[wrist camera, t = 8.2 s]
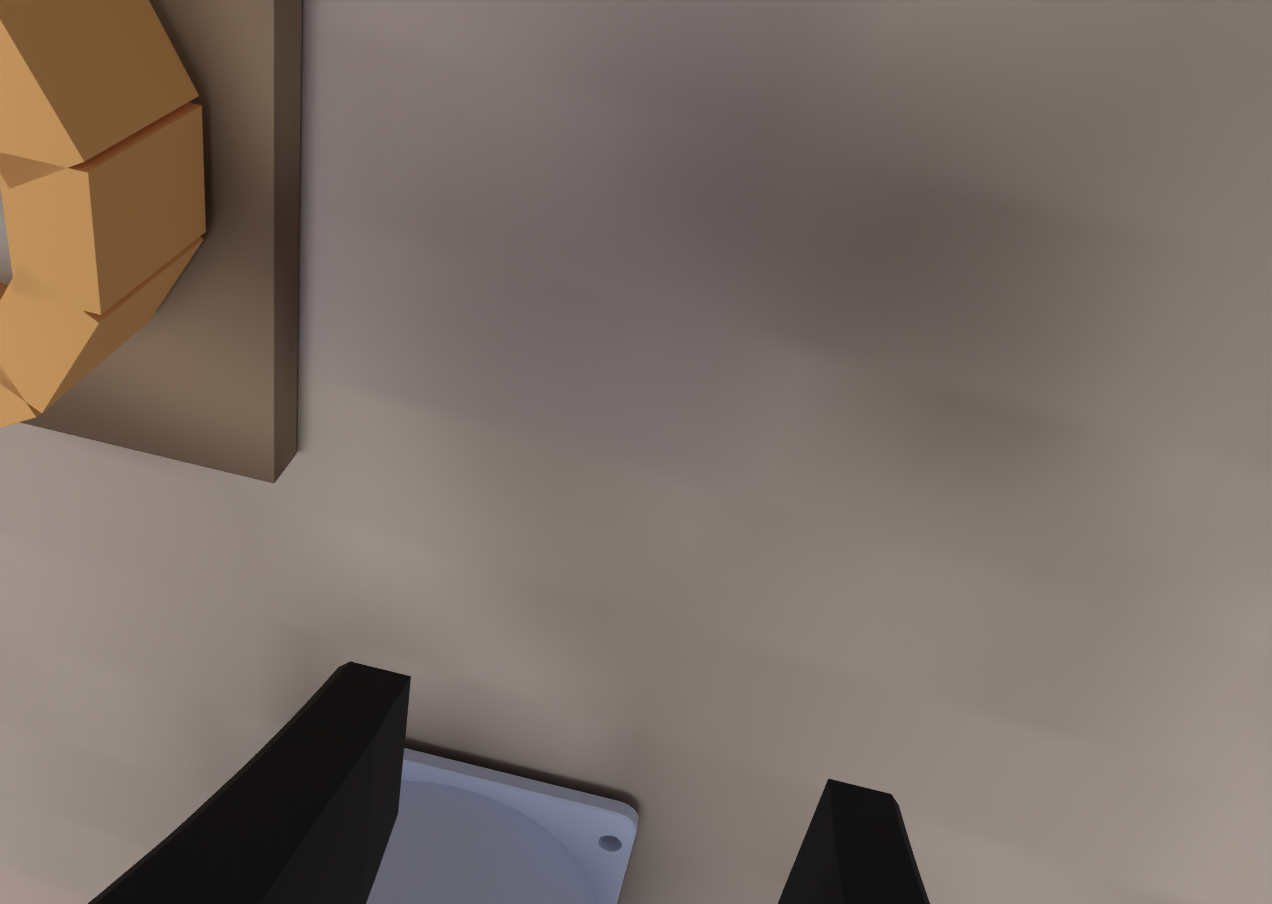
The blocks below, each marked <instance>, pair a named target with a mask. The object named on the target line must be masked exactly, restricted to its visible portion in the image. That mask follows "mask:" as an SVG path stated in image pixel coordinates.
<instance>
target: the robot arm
mask: <svg viewBox="0 0 1272 904" xmlns="http://www.w3.org/2000/svg"><path fill="white" fill-rule="evenodd" d="M410 680H411V676H407V675H403V674H399V673H395V672H391V671H387V670H383V669H378V668H374V667H370V666H366V665H362V664H358V663H354V662H348V663H346V664H344V665H342V666H340V667H338V668H337V670H336V671H335V672H334V673H333V674H332V675H331V676H330V678H329V679H328V680H327V681H326V682H325V683H324V684H323V685H322V687H321V688H320V689H319V690H318V691H317V692H316V693H315V694H314V695H313V696H312V697H311V698H310V700H309V701H308V702H307V703H306V704H305V705H304V706H303V707H302V708H301V709H300V710H299V711H298V712H297V713H296V714H295V716H294V717H293V718H292V719H291V720H290V721H289V722H288V723H287V724H286V725H285V726H284V727H283V728H282V729H281V730H280V731H279V732H278V733H277V734H276V735H275V736H274V737H273V738H272V739H271V740H270V741H269V742H268V743H267V744H266V745H265V746H264V747H263V748H262V749H261V750H260V751H259V752H258V753H257V754H256V755H255V756H254V757H253V758H252V759H251V760H250V761H249V762H248V763H247V764H246V765H245V766H244V767H243V768H242V769H241V770H239V771H238V772H237V773H236V774H235V775H234V776H233V777H232V778H231V779H230V780H229V781H228V782H227V783H225V784H224V785H223V786H222V787H221V788H220V789H219V790H218V791H217V792H216V793H215V794H214V795H213V796H212V797H210V798H209V799H208V800H207V801H206V802H205V803H204V804H203V805H202V806H201V807H200V808H199V809H198V810H196V811H195V812H194V813H193V814H192V815H191V816H190V817H189V818H188V819H187V820H186V821H185V822H183V823H182V824H181V825H180V826H179V827H178V828H177V829H176V830H175V831H173V832H172V833H171V834H170V835H169V836H168V837H167V838H165V839H164V840H163V841H162V842H161V843H159V844H158V845H157V846H156V847H155V848H154V849H152V850H151V851H150V852H149V853H148V854H146V855H145V856H144V857H143V858H142V859H140V860H139V861H138V862H137V863H136V864H135V865H133V866H132V867H131V868H130V869H129V870H127V871H126V872H125V873H124V874H123V875H122V876H120V877H119V878H118V879H117V880H116V881H114V882H113V883H112V884H111V885H110V886H108V887H107V888H106V889H105V890H104V891H103V892H101V893H100V894H99V895H98V896H97V897H95V898H94V899H93V900H92V901H90V902H89V903H88V904H617V901H618V898H619V894H620V891H621V887H622V883H623V880H624V876H625V872H626V869H627V865H628V862H629V858H630V854H631V851H632V847H633V843H634V840H635V836H636V832H637V827H638V822H639V821H638V814H637V813H636V811H635V810H634V809H633V808H632V807H631V806H629V805H628V804H626V803H623V802H621V801H617V800H613V799H609V798H605V797H601V796H597V795H593V794H589V793H585V792H581V791H577V790H573V789H569V788H565V787H561V786H556V785H552V784H548V783H544V782H540V781H536V780H532V779H528V778H524V777H520V776H516V775H512V774H508V773H504V772H500V771H496V770H492V769H488V768H484V767H480V766H476V765H472V764H468V763H464V762H459V761H455V760H451V759H447V758H443V757H439V756H435V755H431V754H427V753H423V752H419V751H415V750H411V749H407V748H404V745H405V734H406V723H407V713H408V702H409V691H410ZM611 836H614V837H611ZM778 904H930V903H929V900H928V897H927V894H926V891H925V888H924V885H923V882H922V879H921V876H920V873H919V870H918V867H917V864H916V861H915V858H914V855H913V852H912V848H911V845H910V842H909V839H908V835H907V832H906V829H905V825H904V822H903V819H902V815H901V812H900V808H899V805H898V803H897V802H896V800H895V799H894V797H893V796H892V794H889V793H885V792H881V791H876V790H872V789H868V788H864V787H860V786H856V785H852V784H848V783H844V782H840V781H836V780H832V779H828V781H827V783H826V786H825V788H824V791H823V793H822V796H821V798H820V801H819V803H818V806H817V808H816V811H815V813H814V815H813V818H812V820H811V823H810V825H809V828H808V830H807V833H806V835H805V838H804V840H803V843H802V845H801V848H800V850H799V853H798V855H797V857H796V860H795V862H794V865H793V867H792V870H791V872H790V875H789V877H788V880H787V882H786V885H785V887H784V890H783V892H782V895H781V897H780V899H779V902H778Z"/></svg>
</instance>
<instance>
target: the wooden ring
mask: <svg viewBox="0 0 1272 904" xmlns="http://www.w3.org/2000/svg"><path fill="white" fill-rule="evenodd" d="M198 96H199V95H198V93H197V91H196V89H195V87H194V85H193V83H192V81H191V80H190V78H189V76H188V74H187V72H186V70H185V68H184V66H183V64H182V62H181V61H180V59H179V57H178V55H177V53H176V51H175V49H174V47H173V45H172V43H171V42H170V40H169V38H168V36H167V34H166V32H165V30H164V28H163V26H162V24H161V22H160V21H159V19H158V17H157V15H156V13H155V11H154V9H153V7H152V5H151V3H150V2H149V0H0V187H1V194H2V201H3V209H4V216H5V223H6V231H7V238H8V245H9V253H10V260H11V267H12V275H13V278H12V280H11V282H10V284H9V285H8V284H3V283H0V427H3V426H7V425H11V424H14V423H18V422H21V421H25V420H29V419H32V418H36V417H37V416H38V415H40V414H41V413H43V412H44V411H45V410H46V409H48V408H49V407H50V406H51V405H52V404H53V403H55V402H56V401H57V400H58V399H59V398H60V397H62V396H63V395H64V394H65V393H66V392H67V391H69V390H70V389H71V388H72V387H73V386H74V385H76V384H77V383H78V382H79V381H80V380H81V379H83V378H84V377H85V376H86V375H87V374H88V373H90V372H91V371H92V370H93V369H94V368H95V367H97V366H98V365H99V364H100V363H101V362H102V361H104V360H105V359H106V358H107V357H108V356H109V355H111V354H112V353H113V352H114V351H115V350H116V349H118V348H119V347H120V346H121V345H122V344H123V343H125V342H126V341H127V340H128V339H129V338H130V337H132V336H133V335H134V334H135V333H136V332H137V331H139V330H140V329H141V328H142V327H143V326H144V325H146V324H147V323H148V322H149V321H150V319H151V318H152V316H153V315H154V313H155V312H156V310H157V309H158V307H159V306H160V304H161V303H162V301H163V300H164V298H165V297H166V295H167V294H168V292H169V291H170V289H171V288H172V286H173V285H174V283H175V282H176V280H177V279H178V277H179V276H180V274H181V273H182V271H183V270H184V268H185V267H186V265H187V264H188V262H189V261H190V259H191V258H192V256H193V255H194V253H195V252H196V250H197V249H198V247H199V246H200V244H201V243H202V241H203V240H204V239H203V238H202V237H200V236H201V235H202V234H204V233H205V232H206V221H205V190H204V158H203V127H202V105H198V104H193V103H189V101H191V100H193V99H195V98H196V97H198Z"/></svg>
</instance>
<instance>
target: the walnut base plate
mask: <svg viewBox="0 0 1272 904" xmlns="http://www.w3.org/2000/svg"><path fill="white" fill-rule="evenodd" d="M149 2H150V3H151V5H152V7H153V9H154V11H155V13H156V15H157V17H158V19H159V21H160V22H161V24H162V26H163V28H164V30H165V32H166V34H167V36H168V38H169V40H170V42H171V43H172V45H173V47H174V49H175V51H176V53H177V55H178V57H179V59H180V61H181V62H182V64H183V66H184V68H185V70H186V72H187V74H188V76H189V78H190V80H191V81H192V83H193V85H194V87H195V89H196V91H197V93H198V95H199V96H198V97H196V98H195V99H193V100H191V101H189V103H193V104H198V105H202V127H203V158H204V190H205V221H206V232H205V233H204V234H202V235H201V236H200V237H202V238H203V239H204V240H203V241H202V243H201V244H200V246H199V247H198V249H197V250H196V252H195V253H194V255H193V256H192V258H191V259H190V261H189V262H188V264H187V265H186V267H185V268H184V270H183V271H182V273H181V274H180V276H179V277H178V279H177V280H176V282H175V283H174V285H173V286H172V288H171V289H170V291H169V292H168V294H167V295H166V297H165V298H164V300H163V301H162V303H161V304H160V306H159V307H158V309H157V310H156V312H155V313H154V315H153V316H152V318H151V319H150V321H149V322H148V323H147V324H146V325H144V326H143V327H142V328H141V329H140V330H139V331H137V332H136V333H135V334H134V335H133V336H132V337H130V338H129V339H128V340H127V341H126V342H125V343H123V344H122V345H121V346H120V347H119V348H118V349H116V350H115V351H114V352H113V353H112V354H111V355H109V356H108V357H107V358H106V359H105V360H104V361H102V362H101V363H100V364H99V365H98V366H97V367H95V368H94V369H93V370H92V371H91V372H90V373H88V374H87V375H86V376H85V377H84V378H83V379H81V380H80V381H79V382H78V383H77V384H76V385H74V386H73V387H72V388H71V389H70V390H69V391H67V392H66V393H65V394H64V395H63V396H62V397H60V398H59V399H58V400H57V401H56V402H55V403H53V404H52V405H51V406H50V407H49V408H48V409H46V410H45V411H44V412H43V413H41V414H40V415H38V416H37V417H36V418H32V419H29V420H25V421H21V423H25V424H29V425H33V426H37V427H42V428H46V429H50V430H54V431H58V432H62V433H67V434H71V435H75V436H79V437H83V438H87V439H92V440H96V441H100V442H104V443H108V444H112V445H117V446H121V447H125V448H129V449H133V450H137V451H142V452H146V453H150V454H154V455H158V456H162V457H166V458H171V459H175V460H179V461H183V462H187V463H191V464H196V465H200V466H204V467H208V468H212V469H216V470H221V471H225V472H229V473H233V474H237V475H241V476H246V477H250V478H254V479H258V480H262V481H266V482H271V483H275V482H276V480H277V479H278V478H279V476H280V475H281V474H282V472H283V471H284V470H285V468H286V467H287V466H288V464H289V463H290V462H291V460H292V459H293V458H294V456H295V455H296V442H297V365H298V287H299V209H300V131H301V54H302V0H149ZM12 278H13V275H12V267H11V260H10V253H9V245H8V238H7V231H6V223H5V216H4V209H3V201H2V194H1V187H0V283H3V284H8V285H9V284H10V282H11V280H12Z"/></svg>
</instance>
